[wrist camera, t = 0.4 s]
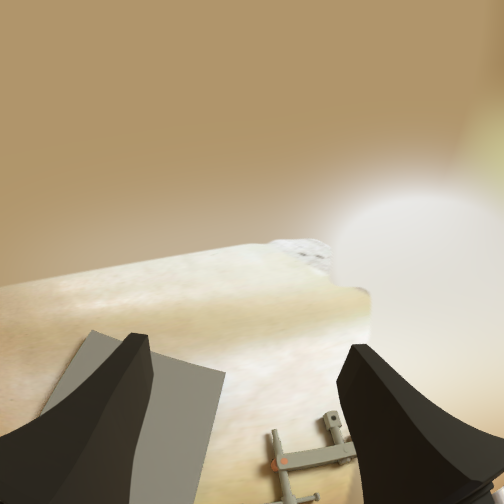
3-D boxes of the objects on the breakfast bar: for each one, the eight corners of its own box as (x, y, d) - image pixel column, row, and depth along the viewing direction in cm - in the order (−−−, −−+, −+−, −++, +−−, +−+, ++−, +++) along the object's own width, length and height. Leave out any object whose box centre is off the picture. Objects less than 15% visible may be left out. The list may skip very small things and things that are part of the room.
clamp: (366, 402, 27) (393, 478, 19) (357, 411, 28) (382, 483, 20) (230, 417, 24) (243, 514, 16) (227, 425, 25) (239, 515, 17)
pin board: (185, 534, 14) (185, 535, 12) (25, 461, 14) (3, 445, 12) (224, 379, 29) (229, 356, 27) (94, 337, 30) (87, 311, 27)
